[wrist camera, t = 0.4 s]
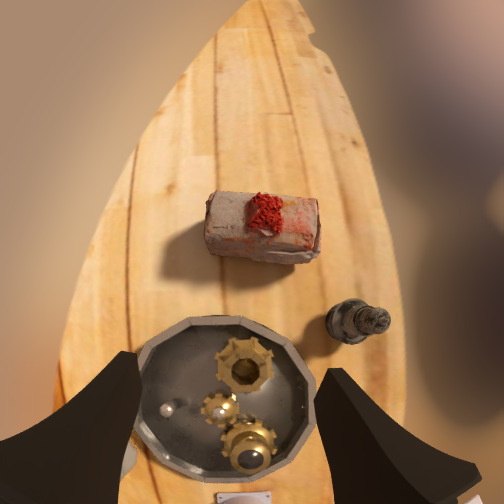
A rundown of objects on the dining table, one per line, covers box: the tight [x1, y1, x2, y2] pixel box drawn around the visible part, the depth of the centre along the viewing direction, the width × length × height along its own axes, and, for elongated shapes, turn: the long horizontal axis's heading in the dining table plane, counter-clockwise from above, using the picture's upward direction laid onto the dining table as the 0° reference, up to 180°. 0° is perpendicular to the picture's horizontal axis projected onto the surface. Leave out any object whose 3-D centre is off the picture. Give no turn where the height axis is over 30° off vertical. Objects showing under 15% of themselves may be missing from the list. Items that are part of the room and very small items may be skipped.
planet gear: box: [214, 336, 275, 393], centre depth 29 cm, size 7×7×5 cm
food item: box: [204, 190, 321, 264], centre depth 33 cm, size 14×8×10 cm, turn 88°
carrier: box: [133, 315, 316, 483], centre depth 28 cm, size 24×24×7 cm
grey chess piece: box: [326, 298, 391, 345], centre depth 29 cm, size 6×6×12 cm
